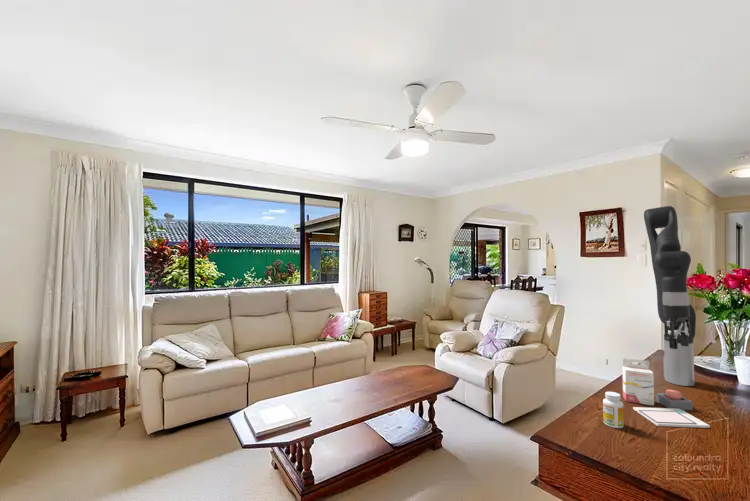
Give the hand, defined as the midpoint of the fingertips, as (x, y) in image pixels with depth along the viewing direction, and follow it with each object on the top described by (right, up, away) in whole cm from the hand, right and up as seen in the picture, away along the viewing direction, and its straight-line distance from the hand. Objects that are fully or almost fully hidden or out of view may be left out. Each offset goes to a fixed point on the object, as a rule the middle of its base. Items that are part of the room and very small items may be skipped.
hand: (679, 347), depth 129 cm
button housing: (-8, -19, -7) cm, 22 cm away
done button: (-8, -17, -7) cm, 20 cm away
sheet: (-18, -19, -16) cm, 30 cm away
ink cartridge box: (-18, -19, -3) cm, 26 cm away
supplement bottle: (-39, -19, -20) cm, 47 cm away
